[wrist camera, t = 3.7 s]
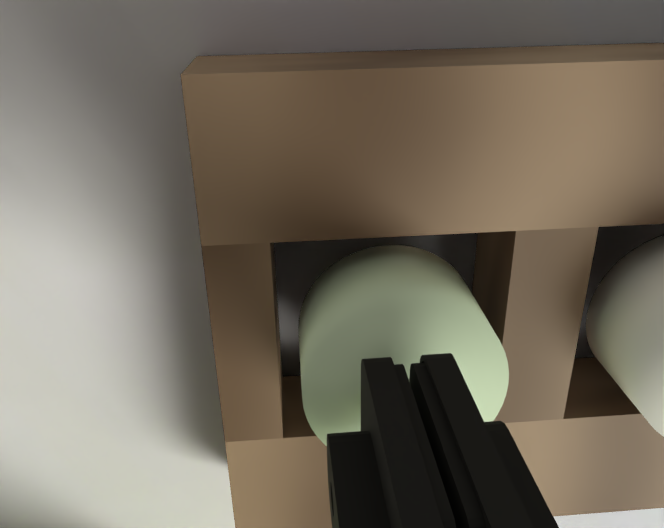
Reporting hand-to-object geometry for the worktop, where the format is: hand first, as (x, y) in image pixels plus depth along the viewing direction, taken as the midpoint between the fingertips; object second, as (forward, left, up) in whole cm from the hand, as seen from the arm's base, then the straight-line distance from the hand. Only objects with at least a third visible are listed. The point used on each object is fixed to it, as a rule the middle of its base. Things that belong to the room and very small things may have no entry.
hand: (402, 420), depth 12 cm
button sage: (0, 0, -3) cm, 3 cm away
